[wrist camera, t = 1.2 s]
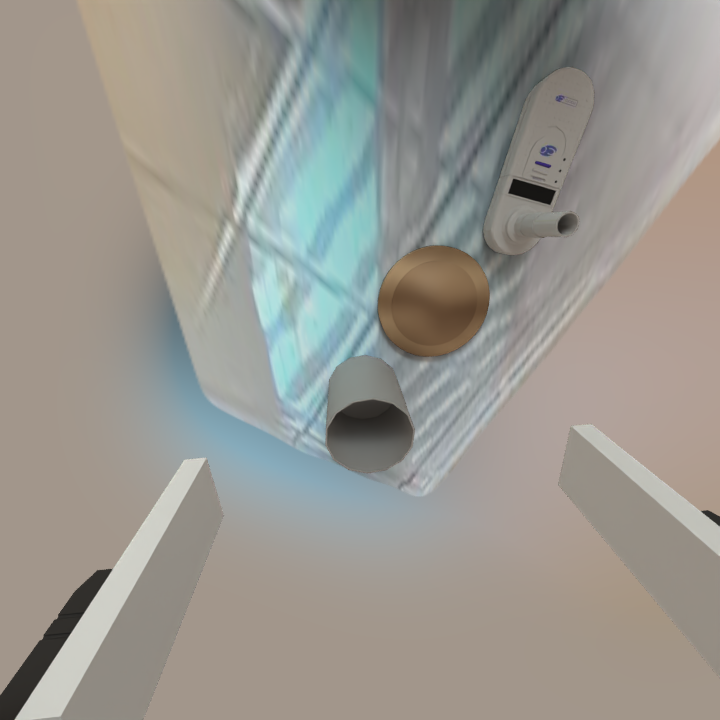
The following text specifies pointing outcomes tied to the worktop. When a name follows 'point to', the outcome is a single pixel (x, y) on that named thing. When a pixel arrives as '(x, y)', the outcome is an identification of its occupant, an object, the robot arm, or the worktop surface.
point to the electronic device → (540, 164)
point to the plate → (433, 300)
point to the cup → (367, 416)
